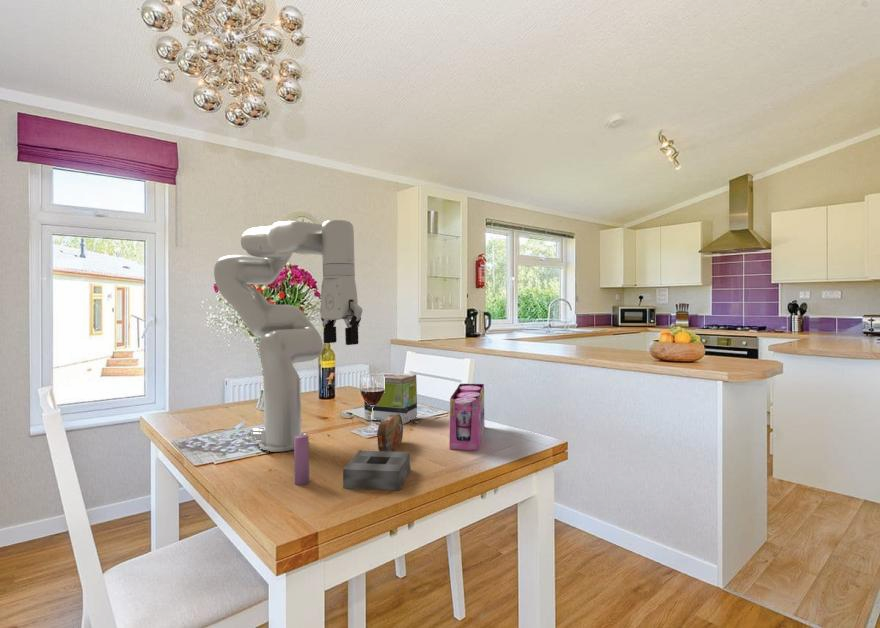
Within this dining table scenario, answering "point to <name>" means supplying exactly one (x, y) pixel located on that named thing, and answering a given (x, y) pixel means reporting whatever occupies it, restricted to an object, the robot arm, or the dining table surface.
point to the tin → (390, 433)
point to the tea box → (396, 398)
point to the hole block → (377, 470)
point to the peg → (301, 459)
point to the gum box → (467, 417)
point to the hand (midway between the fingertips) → (340, 343)
